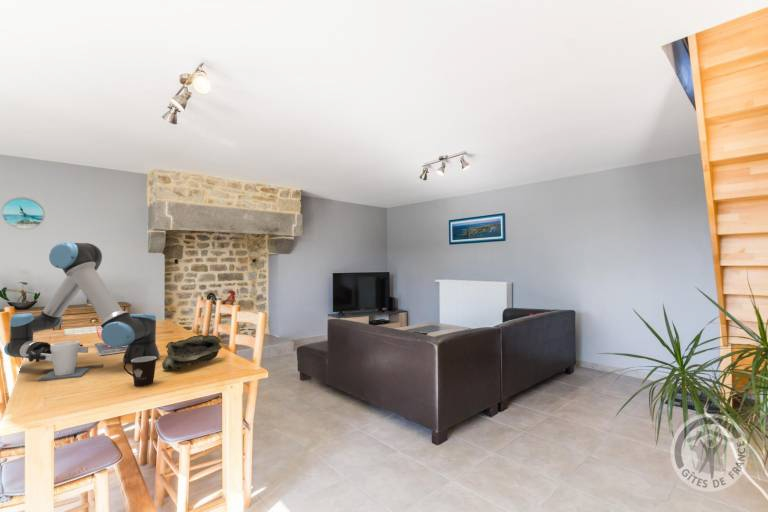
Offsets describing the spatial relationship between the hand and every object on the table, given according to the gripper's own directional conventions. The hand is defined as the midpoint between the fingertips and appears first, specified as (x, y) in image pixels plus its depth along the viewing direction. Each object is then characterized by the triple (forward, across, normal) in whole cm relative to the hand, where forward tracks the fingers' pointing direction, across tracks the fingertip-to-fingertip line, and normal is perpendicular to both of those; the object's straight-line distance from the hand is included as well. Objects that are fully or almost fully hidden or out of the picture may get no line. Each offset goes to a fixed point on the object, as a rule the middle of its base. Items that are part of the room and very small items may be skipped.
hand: (70, 353), depth 157 cm
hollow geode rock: (+38, -28, -10) cm, 49 cm away
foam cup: (-3, 0, -9) cm, 10 cm away
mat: (-4, 0, -10) cm, 10 cm away
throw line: (-9, -7, -10) cm, 15 cm away
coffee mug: (+38, -2, -10) cm, 39 cm away
